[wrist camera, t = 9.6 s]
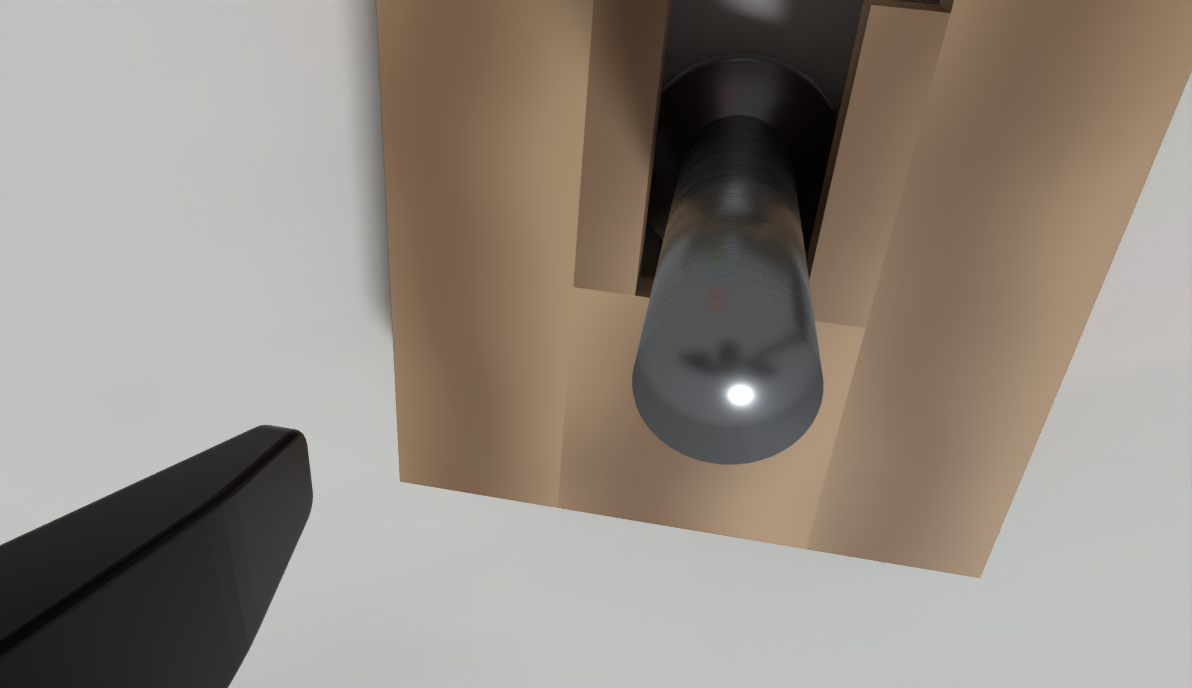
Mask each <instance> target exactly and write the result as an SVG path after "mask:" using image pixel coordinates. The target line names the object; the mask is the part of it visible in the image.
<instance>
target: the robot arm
mask: <svg viewBox="0 0 1192 688" xmlns="http://www.w3.org/2000/svg"><path fill="white" fill-rule="evenodd" d="M312 501H313V490H312V482H311V473H310V465H309V456H308V448H307V442H306V439H305V437H304V435H303V434H302V433H301V432H300V431H298V430H296V429H290V428H284V427H278V426H272V425H261V426H258V427H255V428H253V429H251V430H249V431H247V432H244V433H242V434H240V435H238V436H236V437H234V438H231V439H229V440H227V441H225V442H223V443H221V444H218V445H216V446H214V447H212V448H210V449H208V450H205V451H203V452H201V453H199V454H197V455H195V456H192V457H190V458H188V459H186V460H184V461H182V462H179V463H177V464H175V465H173V466H171V467H169V468H166V469H164V470H162V471H160V472H158V473H156V474H153V475H151V476H149V477H147V478H145V479H143V480H141V481H138V482H136V483H134V484H132V485H130V486H128V487H125V488H123V489H121V490H119V491H117V492H115V493H112V494H110V495H108V496H106V497H104V498H102V499H99V500H97V501H95V502H93V503H91V504H89V505H86V506H84V507H82V508H80V509H78V510H76V511H73V512H71V513H69V514H67V515H65V516H63V517H60V518H58V519H56V520H54V521H52V522H50V523H47V524H45V525H43V526H41V527H39V528H37V529H34V530H32V531H30V532H28V533H26V534H24V535H21V536H19V537H17V538H15V539H13V540H11V541H8V542H6V543H4V544H2V545H0V688H228V687H229V685H230V683H231V681H232V680H233V678H234V676H235V675H236V673H237V671H238V669H239V667H240V666H241V664H242V662H243V660H244V658H245V656H246V655H247V653H248V651H249V649H250V647H251V645H252V643H253V641H254V639H255V637H256V634H257V632H258V630H259V628H260V626H261V624H262V621H263V619H264V617H265V615H266V612H267V610H268V608H269V606H270V603H271V601H272V599H273V597H274V594H275V592H276V590H277V588H278V585H279V583H280V581H281V579H282V576H283V574H284V572H285V570H286V567H287V565H288V563H289V561H290V558H291V556H292V554H293V552H294V549H295V547H296V545H297V543H298V540H299V538H300V536H301V534H302V531H303V529H304V527H305V525H306V522H307V520H308V518H309V515H310V511H311V507H312Z"/></svg>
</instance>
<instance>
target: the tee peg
mask: <svg viewBox="0 0 1192 688" xmlns="http://www.w3.org/2000/svg"><path fill="white" fill-rule="evenodd" d="M836 124H837V118H836V116H835V113H834V111H833V108H832V106H831V104H830V102H829V101H828V99H827V97H826V96H825V94H824V93H823V91H822V90H821V89H820V88H819V86H818V85H817V84H816V83H815V82H814V81H813V80H812V79H811V78H810V77H809V76H808V75H806V74H805V73H804V72H803V71H801V70H800V69H798V68H797V67H795V66H794V65H792V64H790V63H788V62H786V61H784V60H781V59H779V58H776V57H773V56H769V55H765V54H760V53H754V52H732V53H724V54H720V55H715V56H711V57H709V58H706V59H703V60H700V61H698V62H696V63H694V64H692V65H690V66H689V67H687V68H685V69H684V70H682V71H681V72H679V73H678V74H677V75H675V76H674V77H673V78H672V79H671V80H670V81H669V82H668V83H666V84H665V85H664V87H663V88H662V90H661V99H660V108H659V117H658V125H657V134H656V143H655V152H654V161H653V169H652V178H651V187H650V196H649V205H648V213H647V221H648V222H649V224H650V225H651V226H652V228H653V229H654V230H655V231H656V232H657V233H658V235H659V236H660V237H661V238H662V239H663V243H662V248H661V252H660V256H659V261H658V265H657V269H656V273H655V278H654V282H653V286H652V291H651V295H650V299H649V304H648V308H647V312H646V316H645V321H644V325H643V329H642V334H641V338H640V342H639V346H638V351H637V355H636V359H635V364H634V369H633V374H632V389H633V396H634V400H635V404H636V407H637V409H638V411H639V414H640V416H641V417H642V419H643V421H644V422H645V424H646V425H647V426H648V428H649V429H650V430H651V431H652V432H653V433H654V434H655V435H656V436H657V437H658V438H659V439H660V440H661V441H662V442H664V443H665V444H666V445H668V446H669V447H670V448H672V449H674V450H676V451H677V452H679V453H681V454H683V455H686V456H688V457H690V458H693V459H696V460H699V461H704V462H708V463H714V464H723V465H737V464H746V463H752V462H756V461H760V460H763V459H766V458H769V457H772V456H774V455H776V454H778V453H780V452H782V451H784V450H785V449H787V448H789V447H790V446H792V445H793V444H794V443H795V442H796V441H798V440H799V439H800V438H801V437H802V436H803V435H804V434H805V433H806V432H807V430H808V429H809V428H810V426H811V425H812V423H813V422H814V420H815V418H816V416H817V414H818V412H819V409H820V406H821V403H822V397H823V383H824V381H823V374H822V367H821V360H820V353H819V346H818V339H817V332H816V325H815V318H814V311H813V304H812V297H811V290H810V283H809V276H808V269H807V262H806V255H805V248H804V243H805V242H806V241H808V240H809V239H810V238H811V237H812V233H813V228H814V224H815V219H816V215H817V210H818V205H819V201H820V196H821V192H822V187H823V183H824V178H825V174H826V169H827V165H828V160H829V155H830V151H831V146H832V142H833V137H834V133H835V128H836Z"/></svg>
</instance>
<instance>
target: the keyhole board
mask: <svg viewBox="0 0 1192 688" xmlns="http://www.w3.org/2000/svg"><path fill="white" fill-rule="evenodd" d="M671 2H672V0H376V10H377V31H378V51H379V71H380V91H381V111H382V131H383V151H384V171H385V191H386V211H387V231H388V251H389V271H390V291H391V311H392V331H393V351H394V371H395V391H396V411H397V431H398V452H399V472H400V482H406V483H412V484H418V485H424V486H430V487H436V488H442V489H448V490H454V491H460V492H466V493H472V494H478V495H484V496H490V497H496V498H502V499H508V500H514V501H520V502H526V503H532V504H538V505H544V506H550V507H556V508H562V509H568V510H574V511H580V512H586V513H592V514H598V515H604V516H610V517H616V518H622V519H628V520H634V521H640V522H646V523H652V524H658V525H664V526H670V527H676V528H682V529H688V530H694V531H700V532H706V533H712V534H718V535H724V536H730V537H736V538H742V539H748V540H754V541H760V542H766V543H772V544H778V545H784V546H790V547H796V548H802V549H808V550H814V551H820V552H826V553H832V554H838V555H844V556H850V557H856V558H862V559H868V560H874V561H880V562H886V563H892V564H898V565H904V566H910V567H916V568H922V569H928V570H934V571H940V572H946V573H952V574H958V575H964V576H970V577H976V578H980V577H981V574H982V572H983V570H984V567H985V565H986V562H987V560H988V558H989V555H990V553H991V550H992V548H993V546H994V543H995V541H996V538H997V536H998V534H999V531H1000V529H1001V526H1002V524H1003V522H1004V519H1005V517H1006V514H1007V512H1008V510H1009V507H1010V505H1011V503H1012V500H1013V498H1014V495H1015V493H1016V491H1017V488H1018V486H1019V483H1020V481H1021V479H1022V476H1023V474H1024V471H1025V469H1026V467H1027V464H1028V462H1029V459H1030V457H1031V455H1032V452H1033V450H1034V447H1035V445H1036V443H1037V440H1038V438H1039V435H1040V433H1041V431H1042V428H1043V426H1044V423H1045V421H1046V419H1047V416H1048V414H1049V411H1050V409H1051V407H1052V404H1053V402H1054V399H1055V397H1056V395H1057V392H1058V390H1059V388H1060V385H1061V383H1062V380H1063V378H1064V376H1065V373H1066V371H1067V368H1068V366H1069V364H1070V361H1071V359H1072V356H1073V354H1074V352H1075V349H1076V347H1077V344H1078V342H1079V340H1080V337H1081V335H1082V332H1083V330H1084V328H1085V325H1086V323H1087V320H1088V318H1089V316H1090V313H1091V311H1092V308H1093V306H1094V304H1095V301H1096V299H1097V296H1098V294H1099V292H1100V289H1101V287H1102V284H1103V282H1104V280H1105V277H1106V275H1107V273H1108V270H1109V268H1110V265H1111V263H1112V261H1113V258H1114V256H1115V253H1116V251H1117V249H1118V246H1119V244H1120V241H1121V239H1122V237H1123V234H1124V232H1125V229H1126V227H1127V225H1128V222H1129V220H1130V217H1131V215H1132V213H1133V210H1134V208H1135V205H1136V203H1137V201H1138V198H1139V196H1140V193H1141V191H1142V189H1143V186H1144V184H1145V181H1146V179H1147V177H1148V174H1149V172H1150V169H1151V167H1152V165H1153V162H1154V160H1155V157H1156V155H1157V153H1158V150H1159V148H1160V146H1161V143H1162V141H1163V138H1164V136H1165V134H1166V131H1167V129H1168V126H1169V124H1170V122H1171V119H1172V117H1173V114H1174V112H1175V110H1176V107H1177V105H1178V102H1179V100H1180V98H1181V95H1182V93H1183V90H1184V88H1185V86H1186V83H1187V81H1188V78H1189V76H1190V74H1191V71H1192V0H940V4H939V5H938V4H928V3H918V2H908V1H899V0H864V1H863V5H862V10H861V14H860V19H859V23H858V28H857V33H856V37H855V42H854V46H853V51H852V55H851V60H850V64H849V69H848V73H847V78H846V83H845V87H844V92H843V96H842V101H841V105H840V110H839V114H838V119H837V124H836V128H835V133H834V137H833V142H832V146H831V151H830V155H829V160H828V165H827V169H826V174H825V178H824V183H823V187H822V192H821V196H820V201H819V205H818V210H817V215H816V219H815V224H814V228H813V233H812V237H811V242H810V246H809V251H808V256H807V260H806V262H807V269H808V276H809V283H810V290H811V297H812V304H813V311H814V318H815V325H816V332H817V339H818V346H819V353H820V360H821V367H822V374H823V381H824V383H823V397H822V403H821V406H820V409H819V412H818V414H817V416H816V418H815V420H814V422H813V423H812V425H811V426H810V428H809V429H808V430H807V432H806V433H805V434H804V435H803V436H802V437H801V438H800V439H799V440H798V441H796V442H795V443H794V444H793V445H792V446H790V447H789V448H787V449H785V450H784V451H782V452H780V453H778V454H776V455H774V456H772V457H769V458H766V459H763V460H760V461H756V462H752V463H746V464H737V465H723V464H714V463H708V462H704V461H699V460H696V459H693V458H690V457H688V456H686V455H683V454H681V453H679V452H677V451H676V450H674V449H672V448H670V447H669V446H668V445H666V444H665V443H664V442H662V441H661V440H660V439H659V438H658V437H657V436H656V435H655V434H654V433H653V432H652V431H651V430H650V429H649V428H648V426H647V425H646V424H645V422H644V421H643V419H642V417H641V416H640V414H639V411H638V409H637V407H636V404H635V400H634V396H633V389H632V374H633V369H634V364H635V359H636V355H637V351H638V346H639V342H640V338H641V334H642V329H643V325H644V321H645V316H646V312H647V308H648V304H649V299H650V295H651V291H652V286H653V282H654V278H653V277H646V276H640V275H641V266H642V257H643V249H644V240H645V231H646V222H647V213H648V205H649V196H650V187H651V178H652V169H653V161H654V152H655V143H656V134H657V125H658V117H659V108H660V99H661V90H662V81H663V72H664V64H665V55H666V46H667V37H668V28H669V20H670V11H671Z"/></svg>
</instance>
